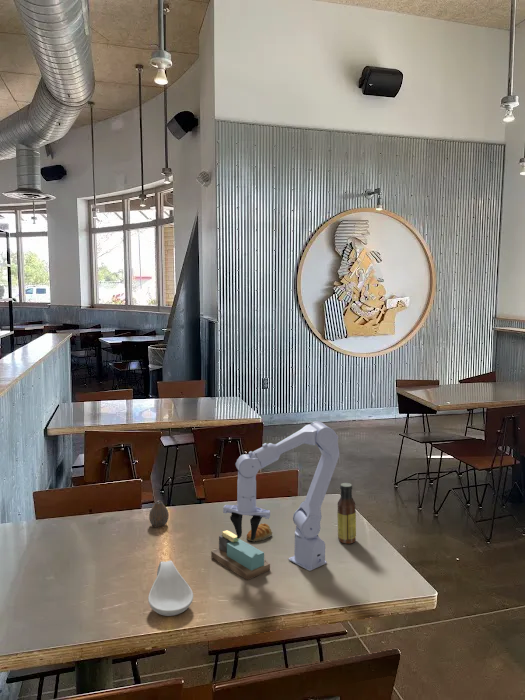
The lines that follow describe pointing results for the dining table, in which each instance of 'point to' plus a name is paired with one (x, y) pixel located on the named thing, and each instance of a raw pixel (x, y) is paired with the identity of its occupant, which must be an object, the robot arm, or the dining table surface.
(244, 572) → the base
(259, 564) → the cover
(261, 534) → the pastry
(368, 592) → the dining table surface
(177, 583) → the spoon rest
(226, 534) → the tan rectangular bar
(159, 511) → the grey oval piece
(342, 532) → the sauce bottle
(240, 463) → the robot arm
